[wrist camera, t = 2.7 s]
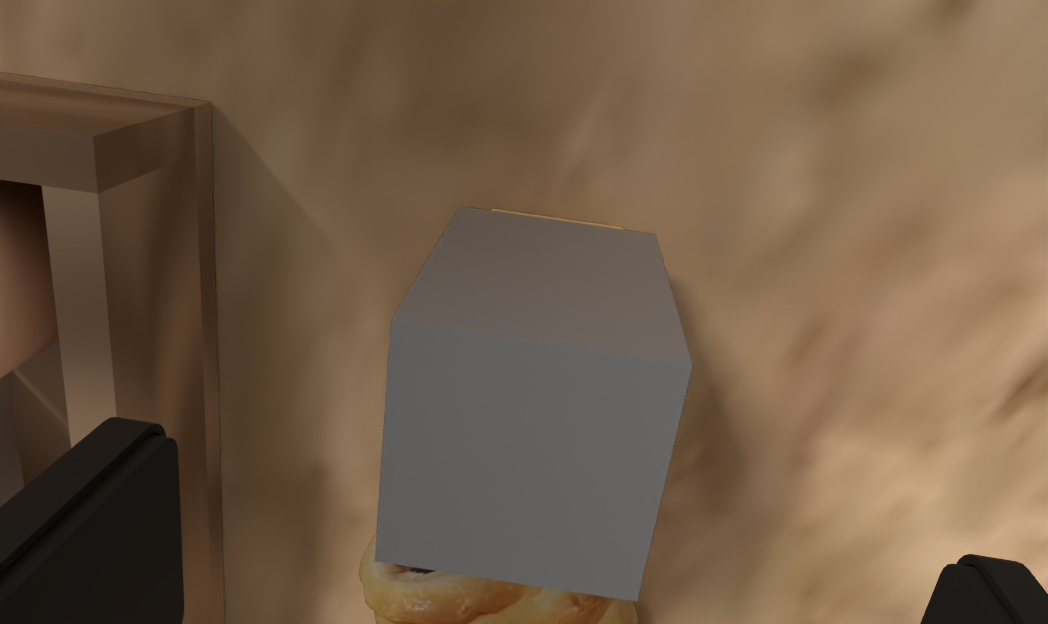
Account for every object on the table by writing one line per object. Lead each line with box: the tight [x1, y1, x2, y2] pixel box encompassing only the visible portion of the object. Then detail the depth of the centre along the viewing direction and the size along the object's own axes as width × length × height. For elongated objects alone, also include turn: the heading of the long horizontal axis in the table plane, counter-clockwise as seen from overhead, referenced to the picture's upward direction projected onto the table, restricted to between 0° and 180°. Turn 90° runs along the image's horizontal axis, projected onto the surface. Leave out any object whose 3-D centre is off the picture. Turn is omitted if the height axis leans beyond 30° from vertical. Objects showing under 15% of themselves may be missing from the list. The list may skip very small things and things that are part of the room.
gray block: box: [375, 206, 693, 602], centre depth 15 cm, size 4×4×8 cm
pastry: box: [359, 534, 638, 624], centre depth 21 cm, size 9×7×4 cm
